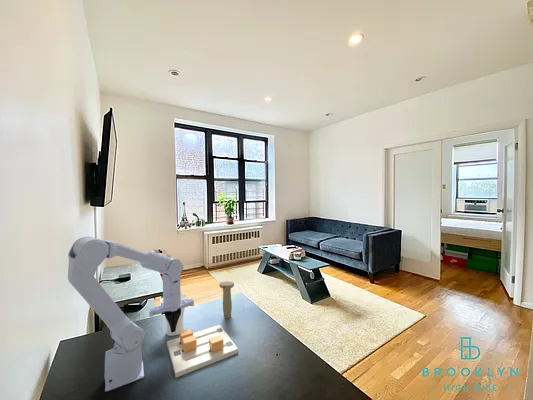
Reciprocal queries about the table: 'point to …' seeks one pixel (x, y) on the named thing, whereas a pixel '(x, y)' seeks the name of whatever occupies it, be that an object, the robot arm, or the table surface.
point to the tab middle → (189, 343)
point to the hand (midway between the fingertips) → (173, 330)
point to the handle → (227, 298)
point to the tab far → (185, 334)
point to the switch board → (199, 351)
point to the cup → (180, 320)
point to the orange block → (216, 343)
